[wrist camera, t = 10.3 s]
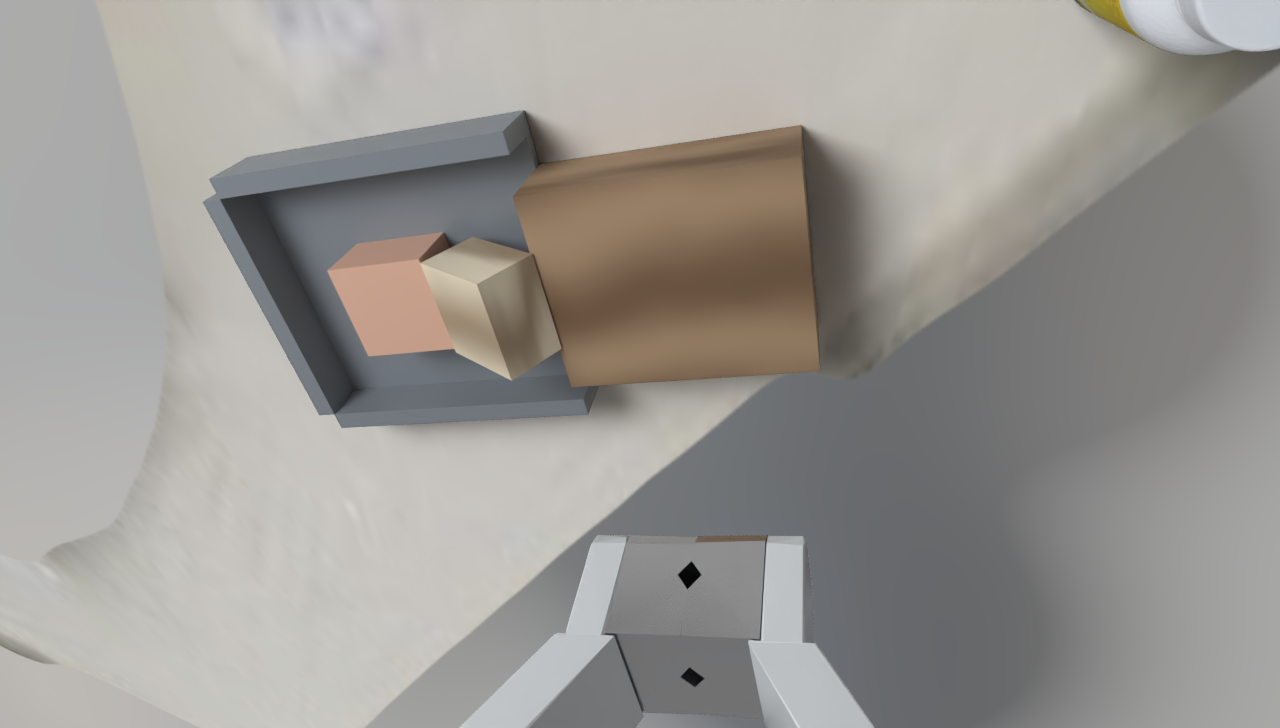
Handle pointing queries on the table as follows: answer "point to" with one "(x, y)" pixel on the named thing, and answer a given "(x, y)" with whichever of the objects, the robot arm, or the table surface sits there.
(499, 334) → the cream wooden block
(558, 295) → the brown wooden slab
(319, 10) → the table surface
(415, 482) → the table surface
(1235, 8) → the supplement bottle
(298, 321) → the tray
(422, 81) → the table surface
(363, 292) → the salmon pink square block
